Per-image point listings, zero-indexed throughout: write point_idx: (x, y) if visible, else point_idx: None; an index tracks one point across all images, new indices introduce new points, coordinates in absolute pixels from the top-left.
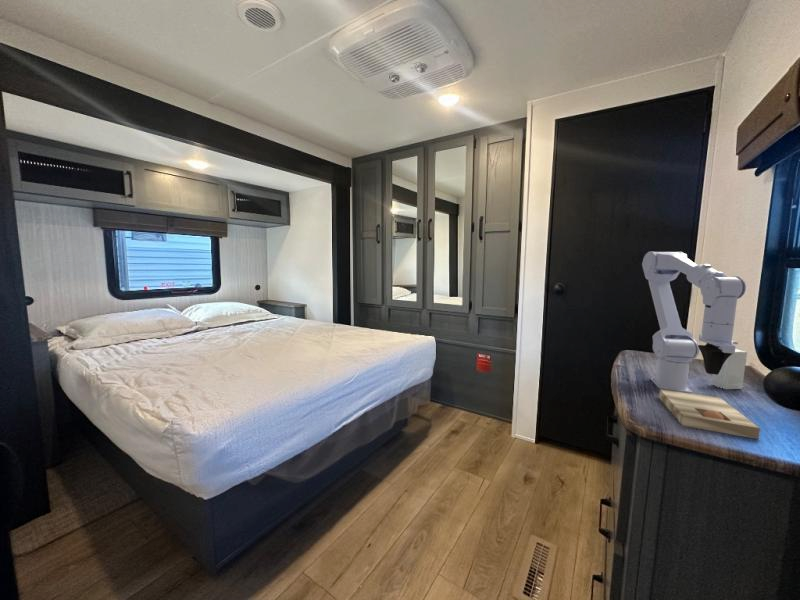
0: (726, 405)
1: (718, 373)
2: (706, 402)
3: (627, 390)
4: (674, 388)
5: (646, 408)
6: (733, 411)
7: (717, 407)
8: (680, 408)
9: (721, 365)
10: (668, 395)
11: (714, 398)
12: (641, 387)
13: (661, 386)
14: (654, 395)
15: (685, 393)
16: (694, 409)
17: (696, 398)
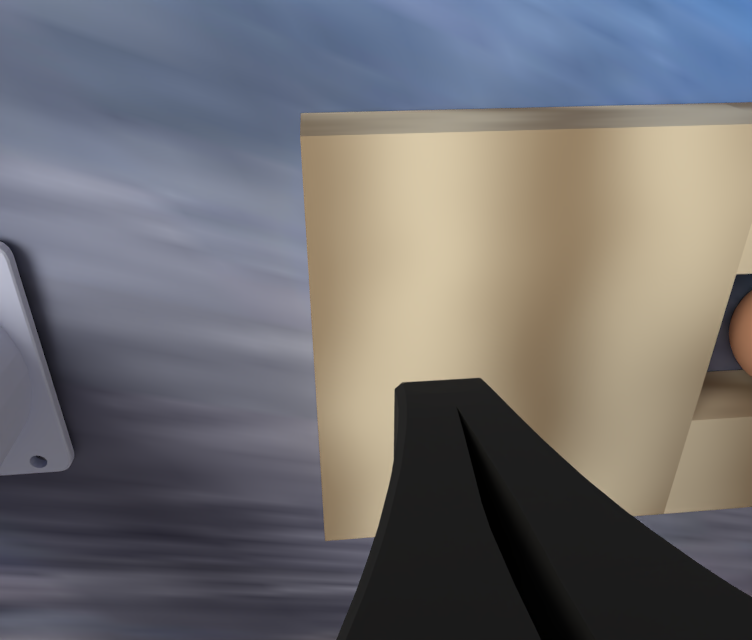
0: (544, 166)
1: (487, 386)
2: (528, 309)
3: (272, 616)
4: (27, 378)
5: None
6: (696, 169)
7: (632, 265)
8: (723, 493)
9: (586, 490)
10: None
11: (360, 203)
12: (125, 549)
13: (27, 453)
14: (283, 501)
15: (338, 402)
16: (723, 426)
17: (446, 354)
